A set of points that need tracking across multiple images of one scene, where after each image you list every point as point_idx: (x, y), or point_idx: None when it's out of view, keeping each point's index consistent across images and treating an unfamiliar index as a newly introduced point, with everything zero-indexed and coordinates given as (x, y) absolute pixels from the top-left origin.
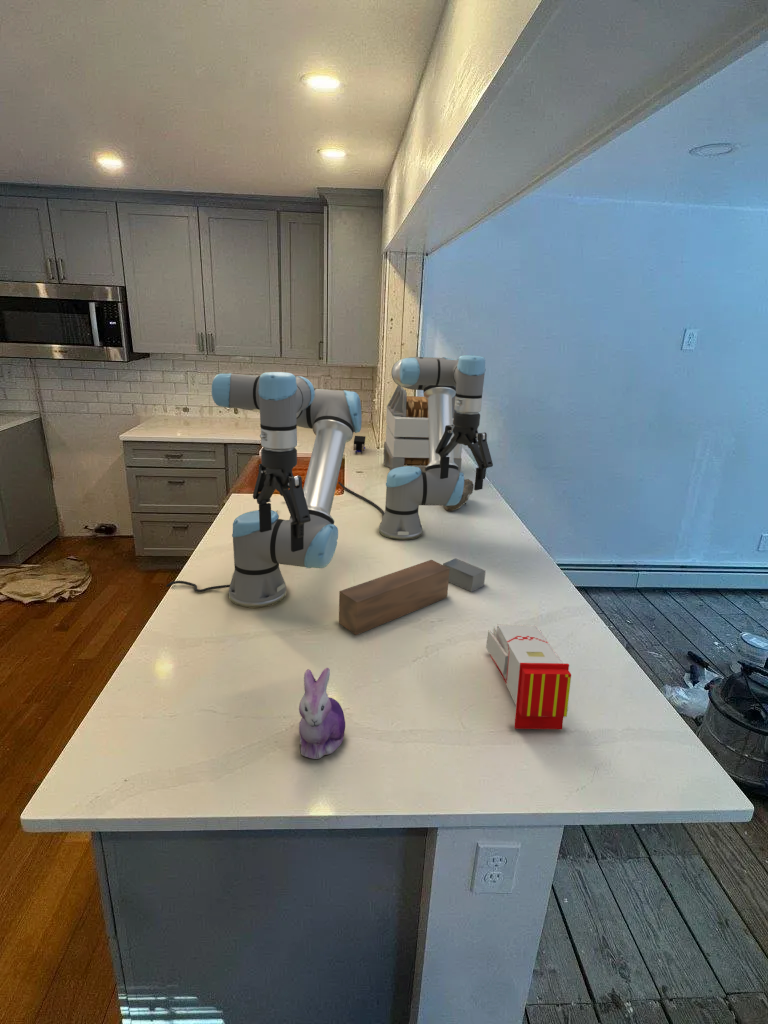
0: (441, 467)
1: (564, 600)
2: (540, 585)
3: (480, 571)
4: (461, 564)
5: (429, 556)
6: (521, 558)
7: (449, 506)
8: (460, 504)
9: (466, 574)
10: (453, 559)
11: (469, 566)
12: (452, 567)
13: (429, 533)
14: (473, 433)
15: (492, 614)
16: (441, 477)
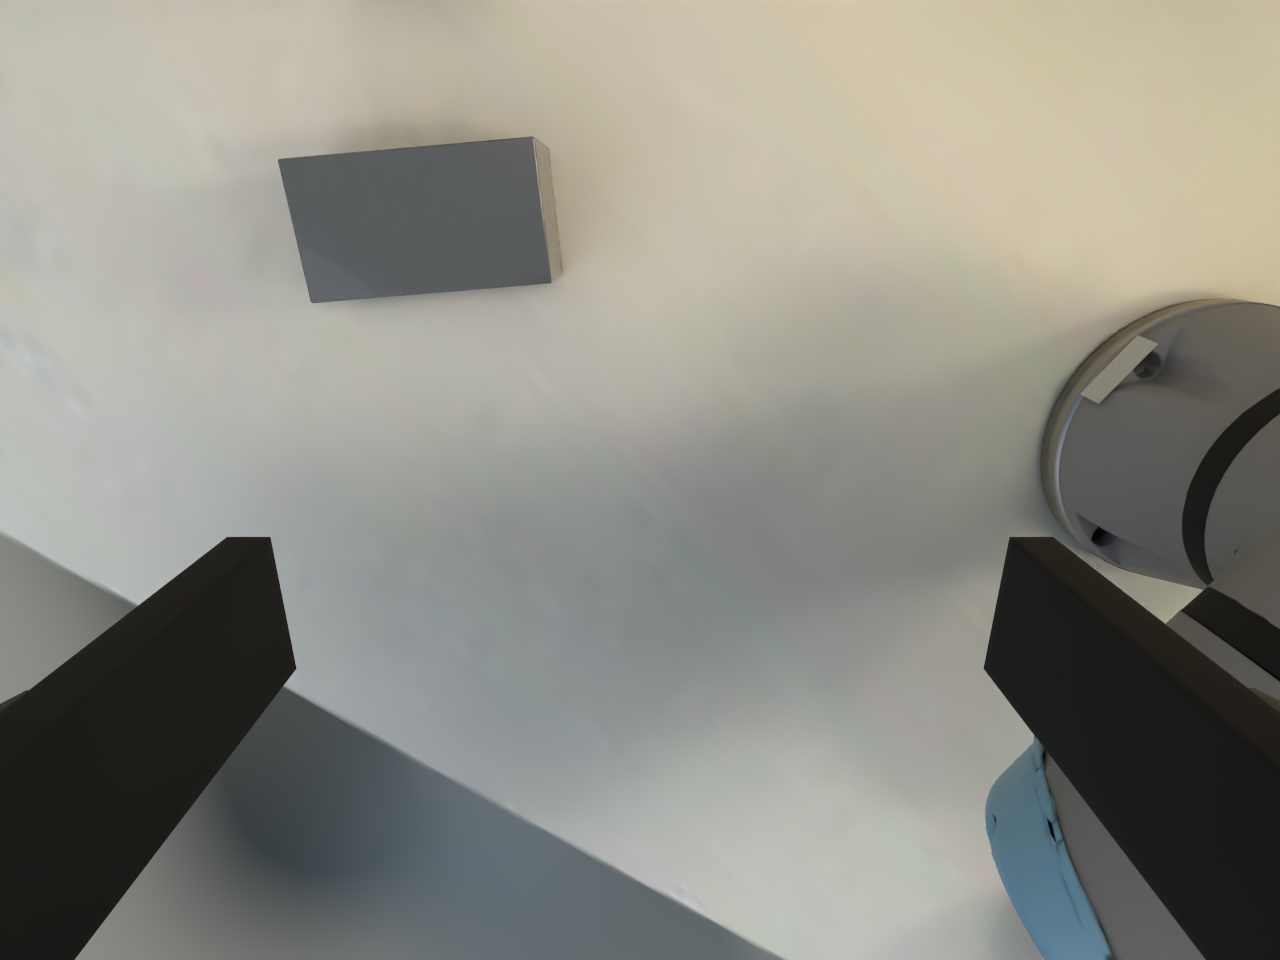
0: (1183, 652)
1: (48, 502)
2: (221, 538)
3: (312, 260)
4: (456, 238)
5: (814, 326)
6: (493, 699)
7: None
8: None
9: (335, 155)
10: (543, 254)
11: (405, 259)
12: (452, 146)
13: None
14: None
15: (62, 51)
16: (1033, 547)
